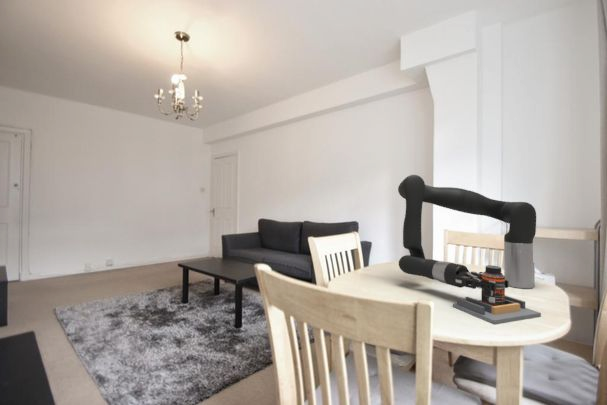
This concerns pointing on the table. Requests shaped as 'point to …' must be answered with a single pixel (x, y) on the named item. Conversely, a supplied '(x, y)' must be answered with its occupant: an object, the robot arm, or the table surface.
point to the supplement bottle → (498, 278)
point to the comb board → (496, 310)
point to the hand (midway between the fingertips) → (501, 285)
